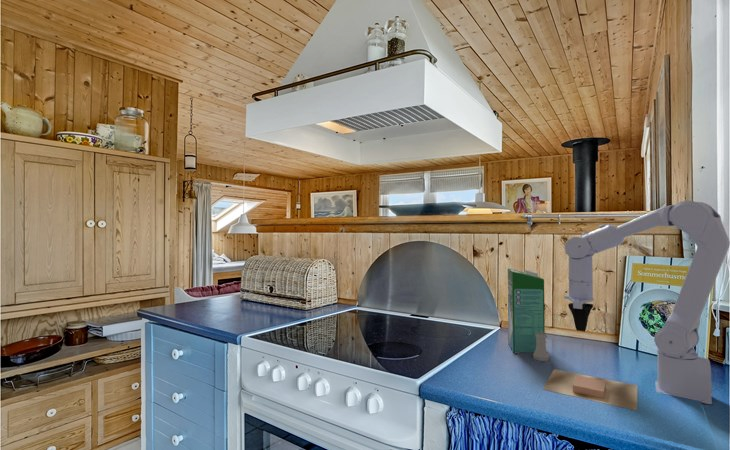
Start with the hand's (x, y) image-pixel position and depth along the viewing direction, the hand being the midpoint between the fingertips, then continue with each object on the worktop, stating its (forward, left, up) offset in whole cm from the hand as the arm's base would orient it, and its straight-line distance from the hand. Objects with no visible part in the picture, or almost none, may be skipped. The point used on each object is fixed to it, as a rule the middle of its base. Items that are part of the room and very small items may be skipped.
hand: (580, 330), depth 104 cm
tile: (-4, +14, -8) cm, 16 cm away
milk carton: (+16, -7, -10) cm, 20 cm away
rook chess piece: (+10, +1, -10) cm, 14 cm away
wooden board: (-4, +15, -10) cm, 19 cm away
